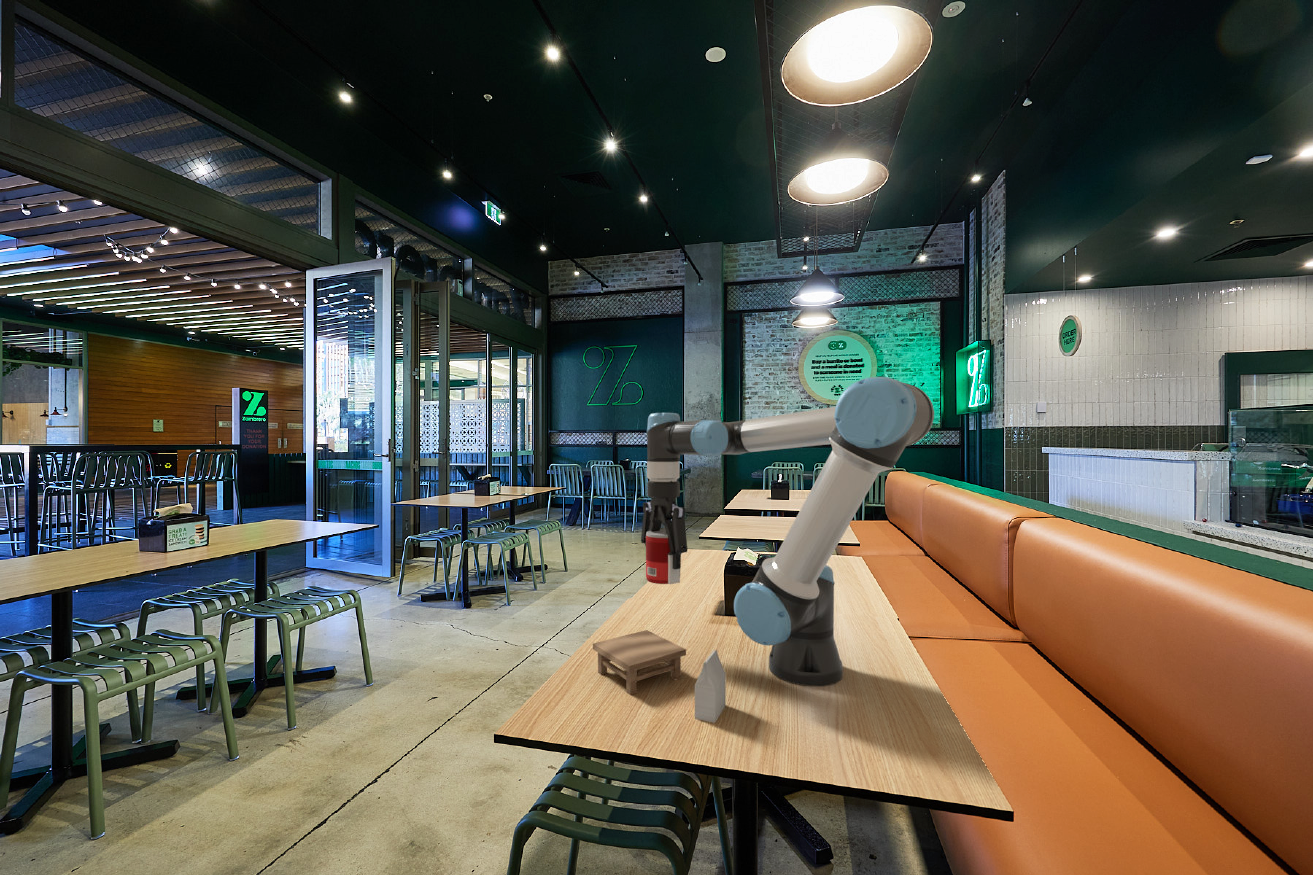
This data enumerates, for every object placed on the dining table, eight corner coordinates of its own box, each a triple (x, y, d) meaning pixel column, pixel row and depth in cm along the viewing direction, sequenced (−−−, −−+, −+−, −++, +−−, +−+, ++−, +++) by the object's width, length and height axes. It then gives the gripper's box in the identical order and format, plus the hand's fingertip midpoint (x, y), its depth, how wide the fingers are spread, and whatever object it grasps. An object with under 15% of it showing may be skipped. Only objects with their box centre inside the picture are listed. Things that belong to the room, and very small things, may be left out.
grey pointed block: (725, 705, 98) (725, 651, 98) (714, 723, 92) (715, 665, 92) (706, 701, 99) (706, 648, 99) (694, 718, 93) (694, 661, 93)
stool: (686, 678, 109) (686, 649, 109) (629, 697, 100) (629, 665, 101) (646, 656, 120) (646, 629, 120) (592, 671, 112) (592, 643, 112)
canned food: (680, 584, 118) (680, 535, 118) (644, 584, 118) (644, 534, 118) (680, 576, 125) (680, 529, 125) (647, 575, 126) (647, 529, 126)
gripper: (704, 482, 115) (704, 586, 115) (652, 477, 133) (651, 568, 132) (676, 483, 111) (676, 591, 111) (626, 478, 128) (625, 572, 128)
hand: (663, 578), depth 122 cm, fingers closed on canned food, 8 cm apart
